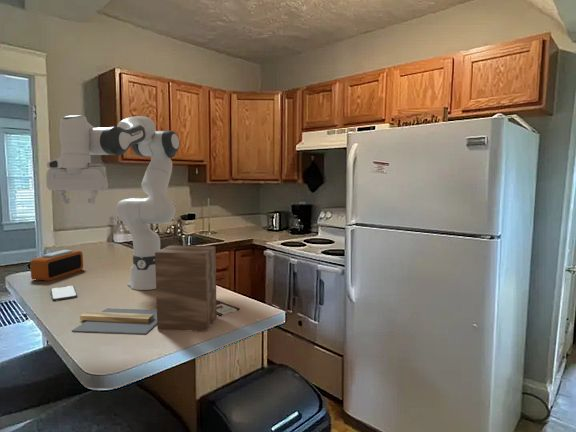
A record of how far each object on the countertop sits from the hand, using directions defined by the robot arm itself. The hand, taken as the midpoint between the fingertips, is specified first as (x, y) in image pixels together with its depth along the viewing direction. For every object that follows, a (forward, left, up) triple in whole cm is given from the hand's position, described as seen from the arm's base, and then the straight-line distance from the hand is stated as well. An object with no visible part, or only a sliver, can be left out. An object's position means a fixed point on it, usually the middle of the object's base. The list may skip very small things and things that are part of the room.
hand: (78, 203), depth 131 cm
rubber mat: (+6, +18, -39) cm, 43 cm away
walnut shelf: (+6, +40, -39) cm, 56 cm away
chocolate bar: (-10, +45, -40) cm, 61 cm away
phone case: (-19, -22, -40) cm, 49 cm away
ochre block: (+6, +15, -39) cm, 42 cm away
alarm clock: (-48, -44, -40) cm, 77 cm away
